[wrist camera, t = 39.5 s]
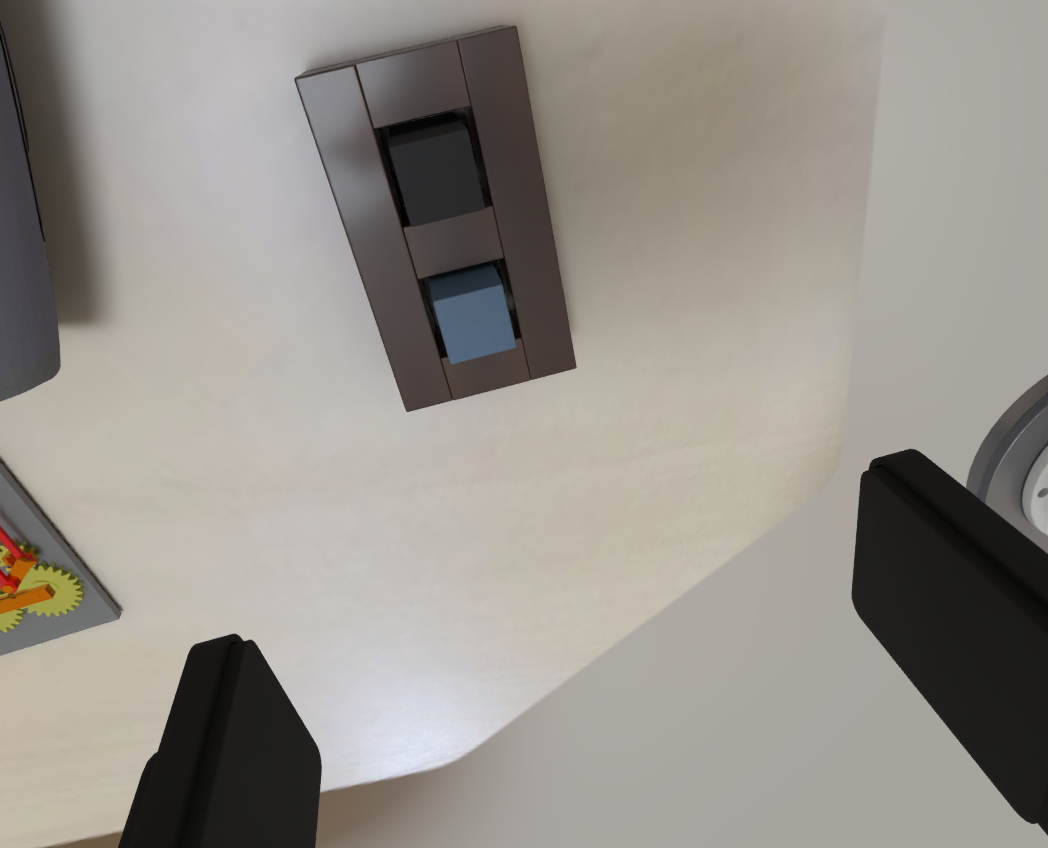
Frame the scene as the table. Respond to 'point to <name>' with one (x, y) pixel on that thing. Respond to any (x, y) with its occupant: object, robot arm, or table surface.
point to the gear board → (41, 578)
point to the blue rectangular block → (472, 312)
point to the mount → (450, 244)
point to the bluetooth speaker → (22, 256)
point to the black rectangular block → (435, 168)
